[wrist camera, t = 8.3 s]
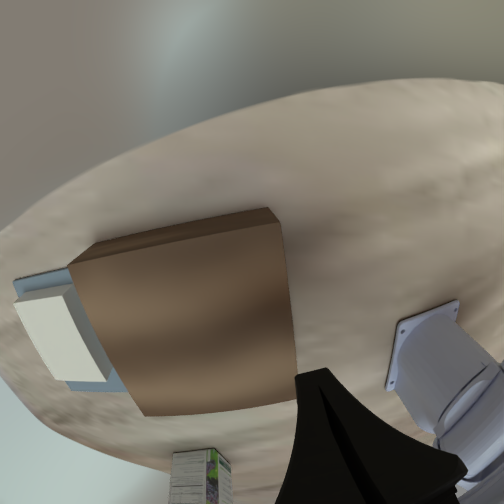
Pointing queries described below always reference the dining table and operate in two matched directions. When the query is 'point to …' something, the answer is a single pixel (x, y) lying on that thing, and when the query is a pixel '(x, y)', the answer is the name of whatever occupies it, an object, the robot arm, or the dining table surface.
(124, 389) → the mat
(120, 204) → the dining table surface
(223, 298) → the block
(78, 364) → the tile
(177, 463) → the syrup box
